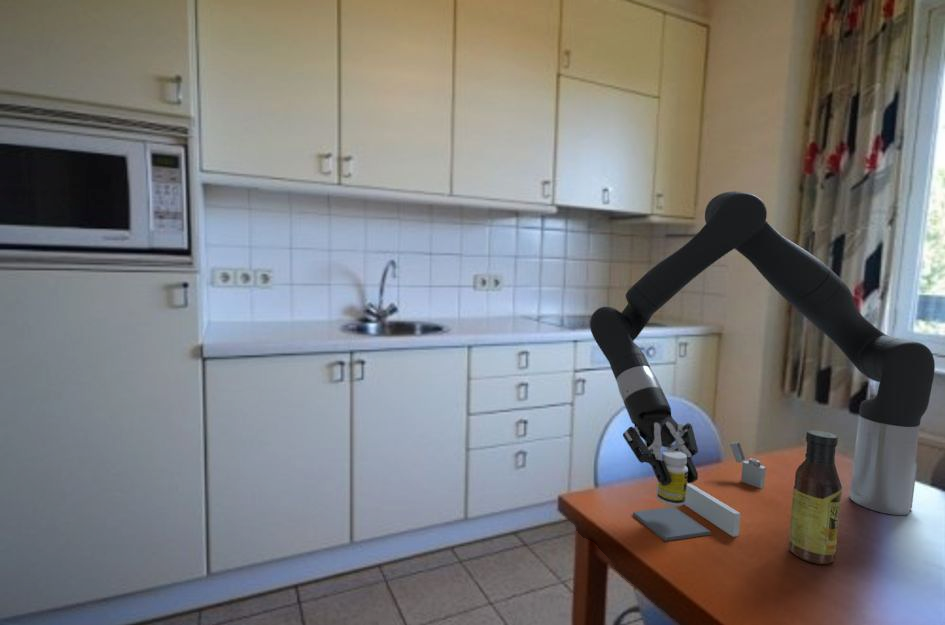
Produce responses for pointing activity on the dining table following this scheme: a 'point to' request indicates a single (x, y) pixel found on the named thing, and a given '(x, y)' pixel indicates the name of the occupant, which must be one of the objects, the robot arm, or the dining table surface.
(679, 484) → the supplement bottle
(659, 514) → the coaster
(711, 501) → the wall
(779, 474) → the dining table surface
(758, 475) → the lighter
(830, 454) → the sauce bottle
